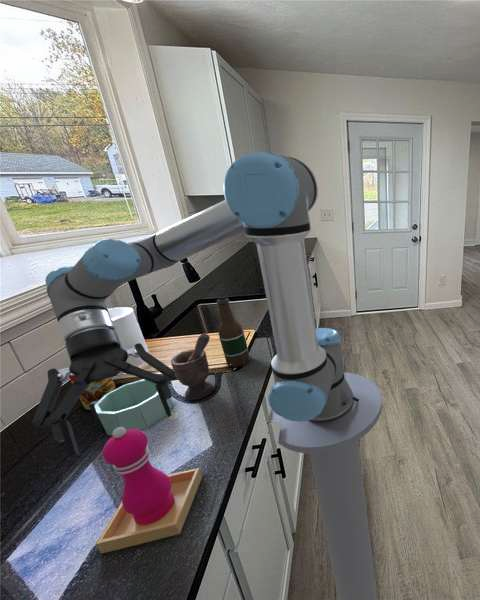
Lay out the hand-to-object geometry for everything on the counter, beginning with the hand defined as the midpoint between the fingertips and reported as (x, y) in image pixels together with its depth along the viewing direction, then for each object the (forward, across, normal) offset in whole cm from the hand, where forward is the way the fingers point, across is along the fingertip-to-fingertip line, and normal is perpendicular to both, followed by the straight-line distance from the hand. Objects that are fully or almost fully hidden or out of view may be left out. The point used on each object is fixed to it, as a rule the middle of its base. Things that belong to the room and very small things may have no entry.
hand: (125, 434), depth 58 cm
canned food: (-24, -6, +48) cm, 54 cm away
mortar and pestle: (-10, +17, +34) cm, 39 cm away
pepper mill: (+14, 0, +9) cm, 17 cm away
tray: (+14, 0, +9) cm, 17 cm away
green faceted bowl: (-13, 0, +36) cm, 38 cm away
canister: (-38, 0, +61) cm, 72 cm away
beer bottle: (-18, +30, +41) cm, 54 cm away
